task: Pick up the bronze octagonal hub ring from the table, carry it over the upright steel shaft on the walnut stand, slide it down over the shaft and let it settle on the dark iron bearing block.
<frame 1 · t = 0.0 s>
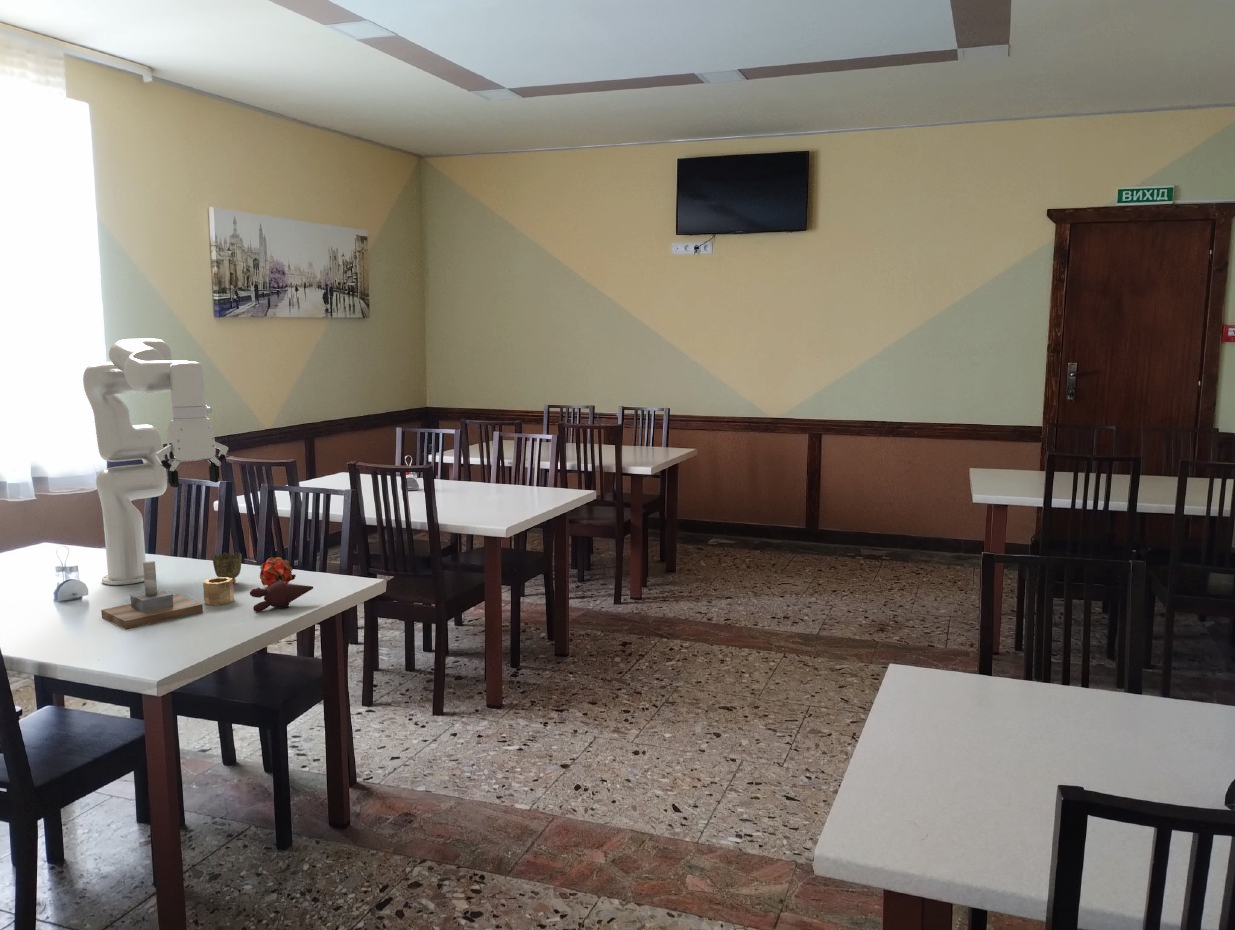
hand: (194, 484, 229), 31 cm above the table, tool pointing down, fingers open, 9 cm apart
dragon fruit: (277, 587, 254), on the table
hub: (219, 601, 240), on the table
cup: (228, 584, 258), on the table
icecream: (283, 607, 235), on the table
shaft stand: (152, 614, 229), on the table
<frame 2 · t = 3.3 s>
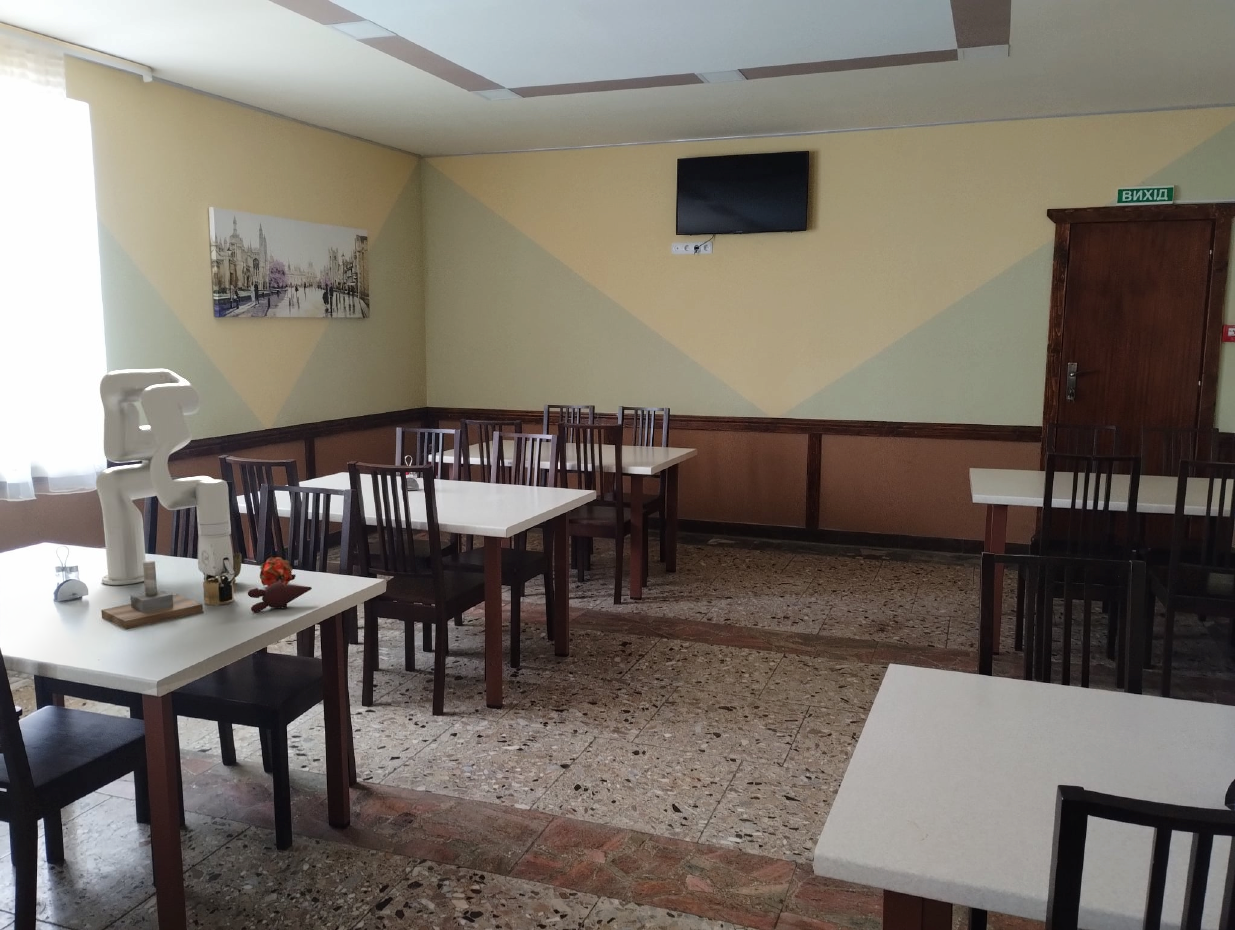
hand: (219, 597, 240), 1 cm above the table, tool pointing down, fingers closed on hub, 6 cm apart
hub: (219, 601, 240), on the table, touching gripper
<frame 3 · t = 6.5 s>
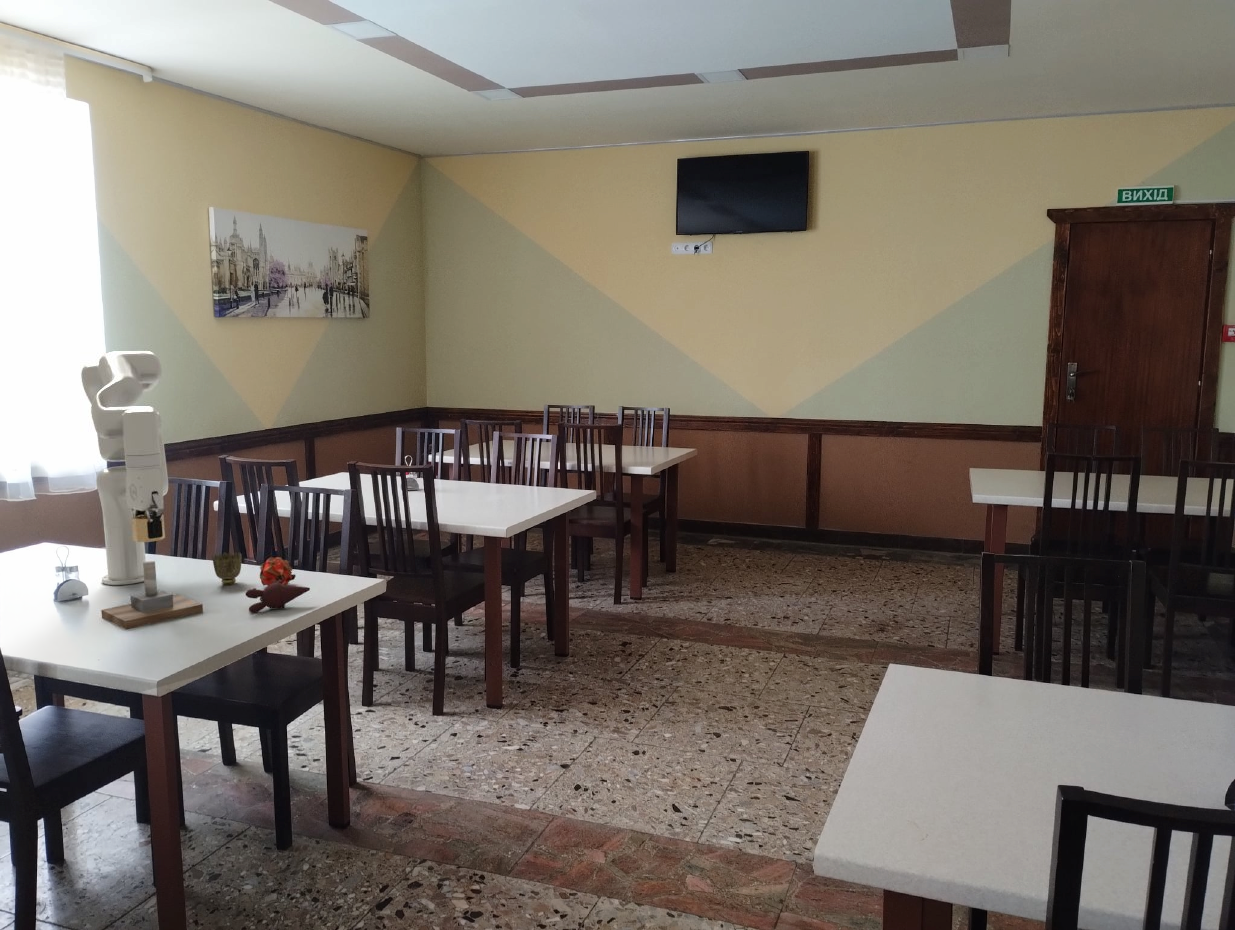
hand: (148, 535, 227), 20 cm above the table, tool pointing down, fingers closed on hub, 6 cm apart
hub: (149, 539, 227), point 19 cm above the table, touching gripper
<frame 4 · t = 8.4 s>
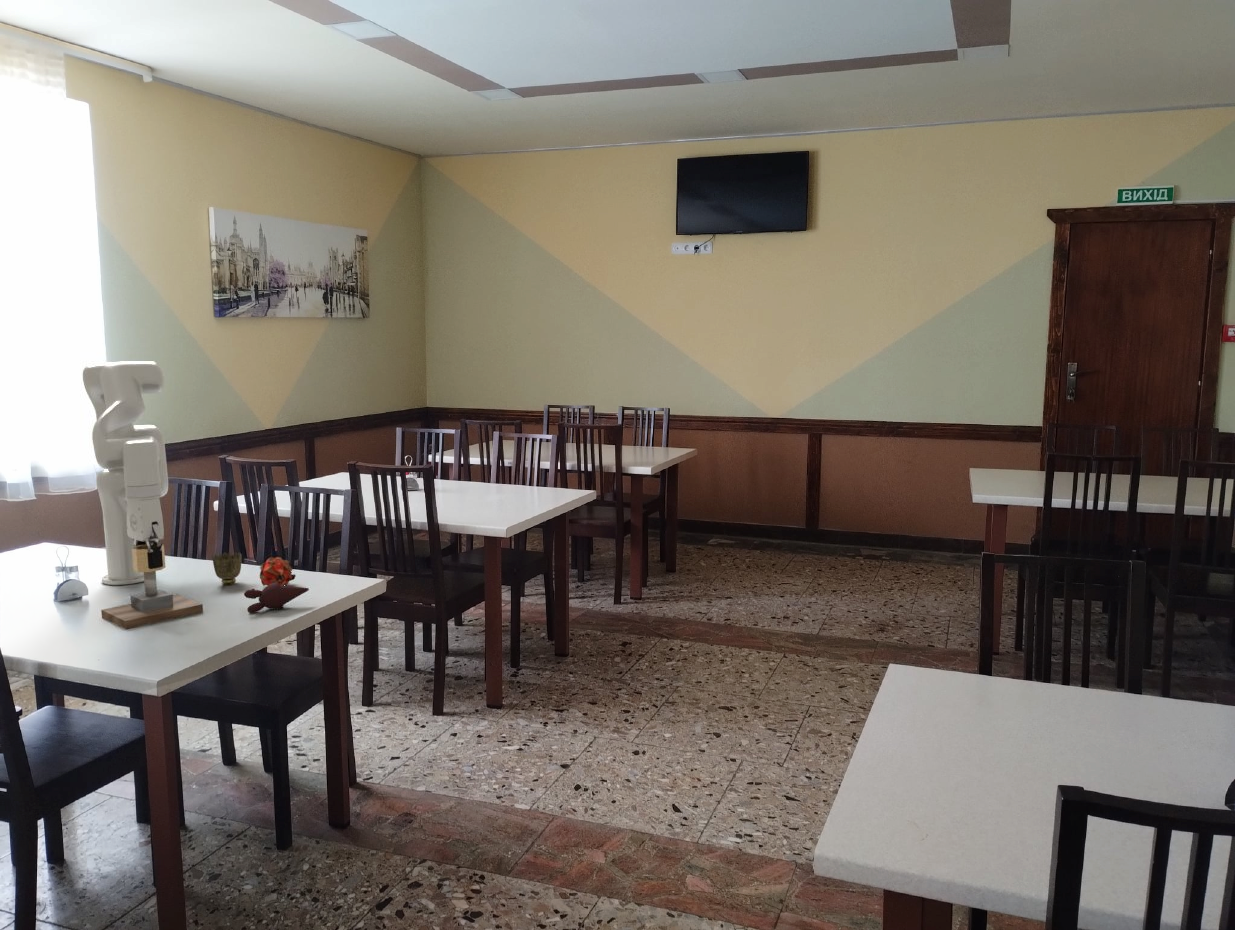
hand: (149, 565, 227), 12 cm above the table, tool pointing down, fingers closed on hub, 6 cm apart
hub: (149, 569, 227), point 11 cm above the table, touching gripper
when the fingers open (8 cm above the table, at t = 9.8 s): hub drops 2 cm, resting on shaft stand.
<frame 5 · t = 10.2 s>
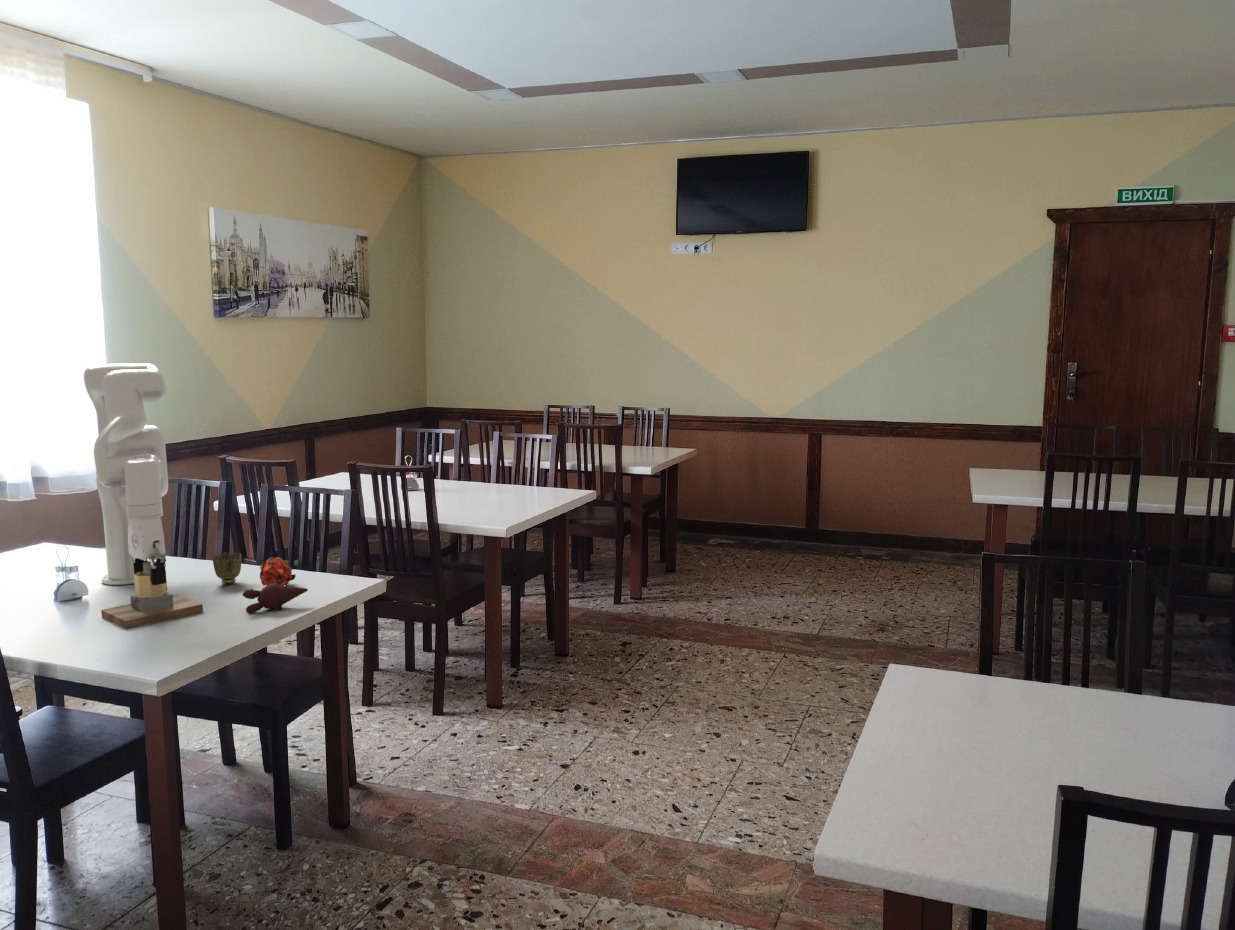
hand: (150, 580, 228), 8 cm above the table, tool pointing down, fingers open, 9 cm apart
hub: (151, 594, 228), point 5 cm above the table, touching shaft stand
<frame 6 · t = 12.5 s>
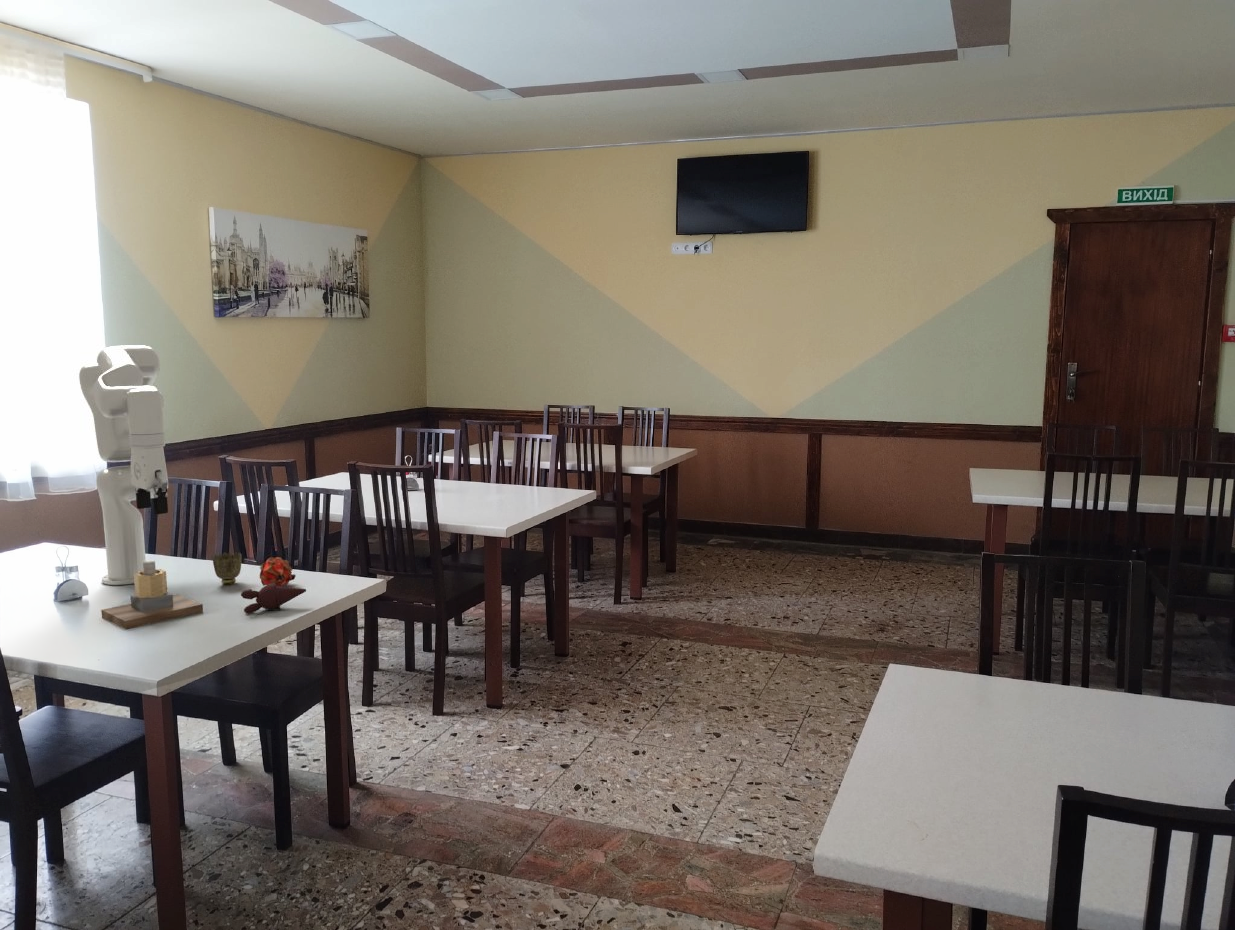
hand: (152, 510, 229), 25 cm above the table, tool pointing down, fingers open, 9 cm apart
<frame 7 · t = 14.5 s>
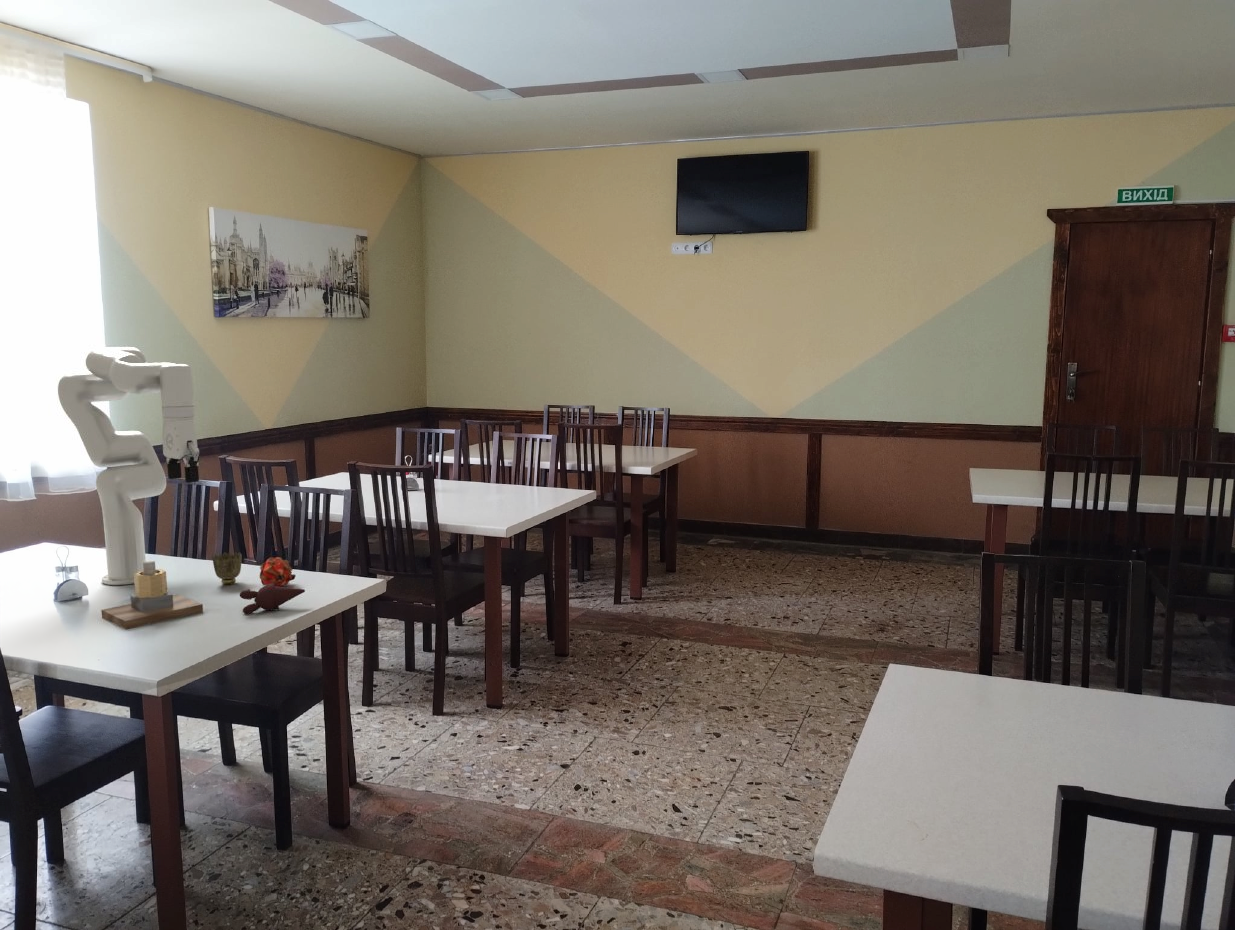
hand: (183, 480, 242), 30 cm above the table, tool pointing down, fingers open, 9 cm apart
at the end: hub 0.1 cm off-centre on the shaft stand, point 5.0 cm above the shaft stand's base; hub tilted 0°; the gripper is holding nothing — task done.
